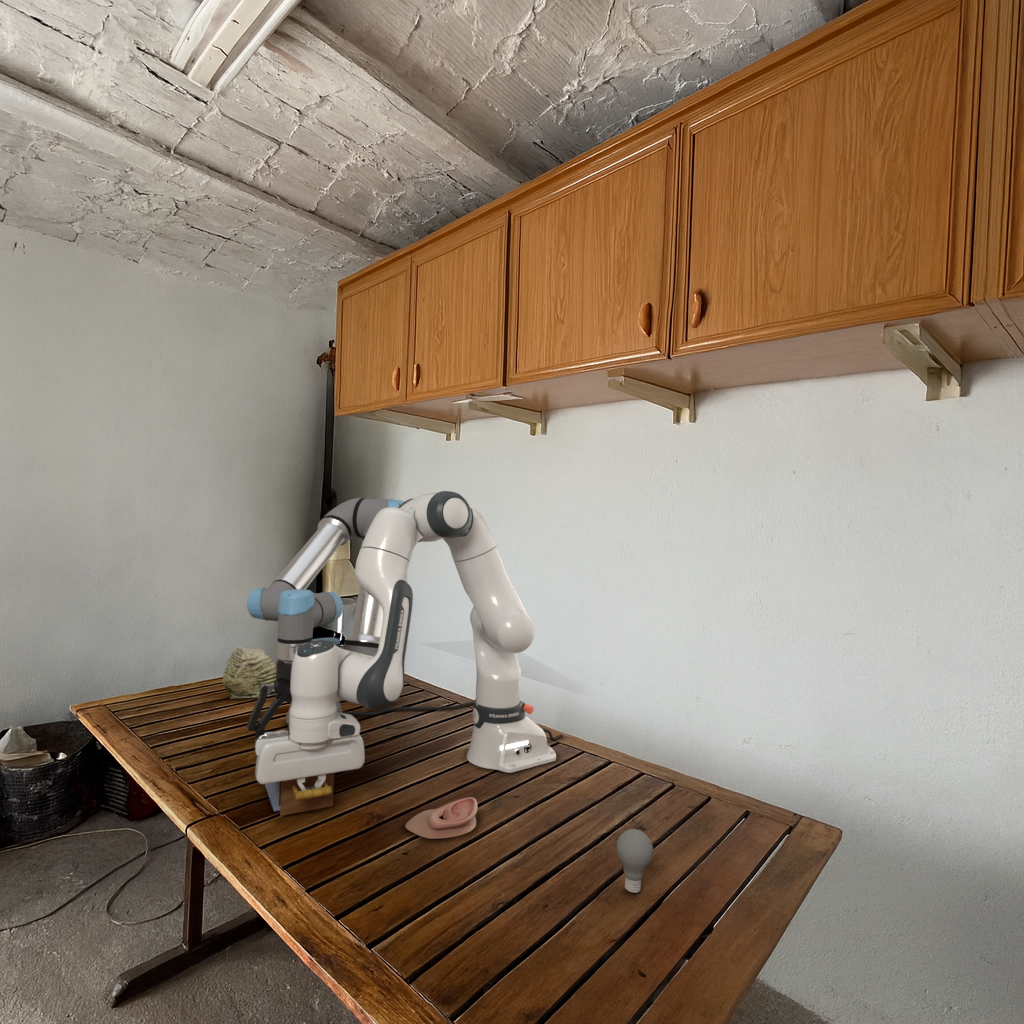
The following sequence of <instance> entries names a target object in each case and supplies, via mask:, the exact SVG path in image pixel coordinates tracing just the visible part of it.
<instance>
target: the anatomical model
mask: <svg viewBox="0 0 1024 1024" xmlns="http://www.w3.org/2000/svg"><path fill="white" fill-rule="evenodd" d="M478 805H479V804H478V801H477V799H476V798H475V797H471V796H469V797H464V798H460V799H457V800H454V801H452V802H449V803H446V804H444V805H442V806H440V807H437V808H435V809H427V810H424V811H421V812H419V813H417V814H416V815H413V816H412V817H411V818H410V819H409V820H408V821H407V822H406V823H405V825H404V827H405V829H406V830H408V831H409V832H411V833H413V834H415V835H416V836H418V837H422V838H424V839H427V840H428V839H430V840H437V839H438V840H439V839H449V838H455V837H459V836H463V835H466V834H468V833H470V832H472V831H473V830H474V829H475V828H476V826H477V818H476V815H477V813H478V807H479V806H478Z"/></svg>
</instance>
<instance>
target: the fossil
mask: <svg viewBox="0 0 1024 1024" xmlns="http://www.w3.org/2000/svg"><path fill="white" fill-rule="evenodd" d="M222 676H223V677H222V685H223V687H224V688H225V690H226V691H228V693H229V698H230V699H250V698H258V697H259V695H260V685H261V684H263V683H264V684H266V685H269V684H274V682H275V680H276V663H275V662H274V660H273V659H272V658H271V657H270V656H269V655H268V654H267V653H266V652H265V650H264V649H263V648H260V647H258V648H251V647H247V646H246V647H245V646H238V647H237V648H236V649H235V650H233V651H232V653H231V656H230V657H229V659H228V660H227V663H226V666H225V668H224V671H223V675H222ZM276 695H277V693H276V692H275V690H272V691H271V693H270V694H269V695H267V697H271V696H276Z"/></svg>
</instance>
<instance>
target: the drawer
mask: <svg viewBox="0 0 1024 1024" xmlns="http://www.w3.org/2000/svg"><path fill="white" fill-rule="evenodd" d="M317 779H318V777H317V776H311V777H305V782H304V783H303V784H304V786H305V787H306V786H309V787H310V786H312V785H315V783H316V781H317ZM334 784H335V773H329V774H326V779H325V781H324V783H323V784H322V786H321V787H320V788H315V789H309V790H304V791H301V788H300V787H299V785H298V783H297V781H296V779H292V780H286V781H280V794H279V797H280V810H279V815H280V817H283V816H288V815H293V814H297V813H298V814H299V813H302V812H303V813H304V812H309V811H313V810H320V809H323V808H330V807H333V806H334V791H335V790H334V787H335V785H334Z"/></svg>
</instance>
